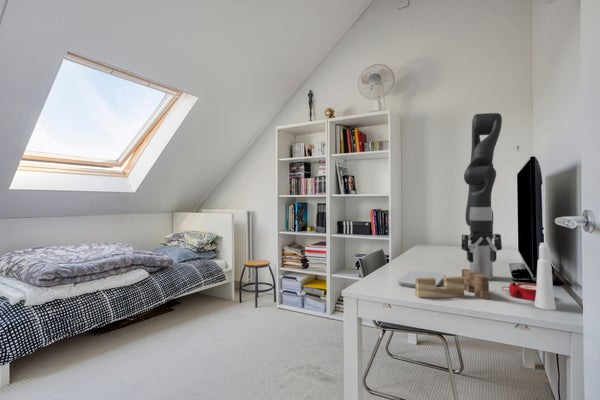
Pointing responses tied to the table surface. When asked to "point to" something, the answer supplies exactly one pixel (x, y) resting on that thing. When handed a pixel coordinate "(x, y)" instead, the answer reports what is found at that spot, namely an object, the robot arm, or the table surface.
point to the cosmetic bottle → (544, 280)
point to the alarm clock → (522, 290)
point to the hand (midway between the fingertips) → (481, 261)
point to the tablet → (409, 277)
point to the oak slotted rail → (429, 289)
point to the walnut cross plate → (476, 283)
